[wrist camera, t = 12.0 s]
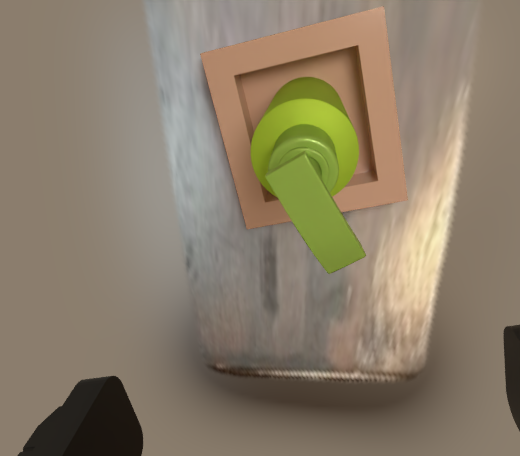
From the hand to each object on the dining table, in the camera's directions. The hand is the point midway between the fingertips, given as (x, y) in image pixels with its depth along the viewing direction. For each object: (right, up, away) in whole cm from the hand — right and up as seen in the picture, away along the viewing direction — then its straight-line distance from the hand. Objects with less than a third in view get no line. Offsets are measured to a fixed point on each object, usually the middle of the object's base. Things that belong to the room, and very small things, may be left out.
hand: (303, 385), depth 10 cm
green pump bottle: (+3, +12, +28) cm, 30 cm away
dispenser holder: (+3, +12, +28) cm, 31 cm away
